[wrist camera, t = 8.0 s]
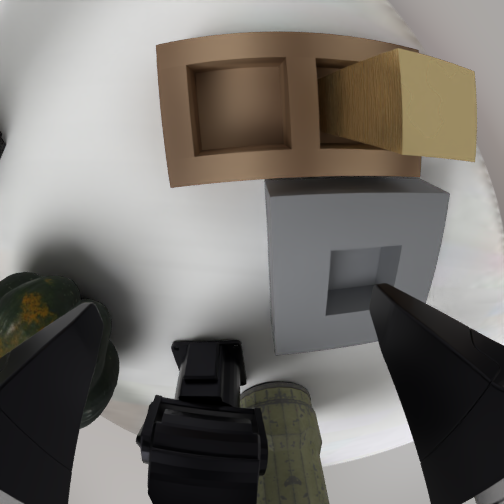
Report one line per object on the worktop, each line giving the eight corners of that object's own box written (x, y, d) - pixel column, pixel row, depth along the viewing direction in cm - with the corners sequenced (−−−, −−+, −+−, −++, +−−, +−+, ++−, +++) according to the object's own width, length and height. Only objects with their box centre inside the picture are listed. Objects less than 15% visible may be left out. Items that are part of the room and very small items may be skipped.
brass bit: (368, 132, 16) (474, 162, 7) (319, 131, 16) (402, 154, 7) (367, 83, 15) (474, 71, 6) (316, 79, 15) (398, 48, 6)
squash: (175, 385, 20) (-6, 441, 7) (106, 423, 25) (-4, 455, 12) (109, 244, 25) (-40, 228, 11) (62, 319, 30) (-41, 323, 16)
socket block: (397, 305, 24) (415, 333, 20) (271, 321, 24) (275, 355, 20) (419, 178, 19) (449, 193, 15) (264, 180, 19) (270, 196, 15)
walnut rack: (388, 58, 15) (418, 50, 11) (390, 164, 18) (420, 177, 15) (173, 58, 15) (156, 45, 11) (184, 173, 18) (170, 187, 15)
